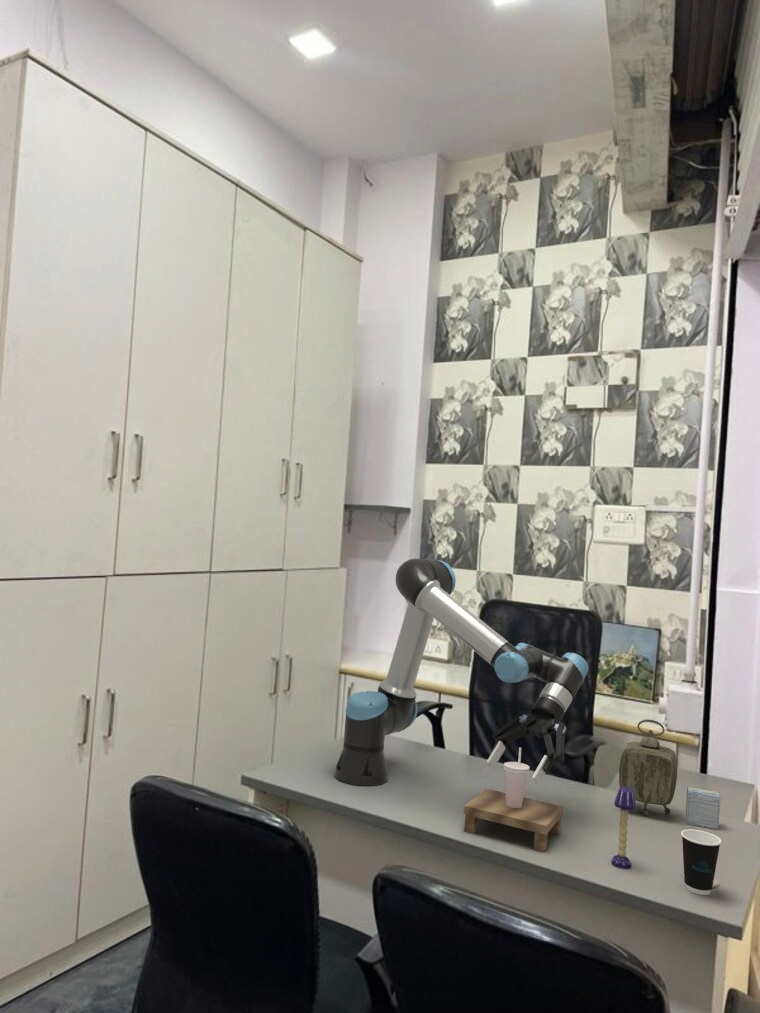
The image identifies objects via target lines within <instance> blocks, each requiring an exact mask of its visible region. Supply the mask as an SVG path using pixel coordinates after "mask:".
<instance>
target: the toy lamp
mask: <svg viewBox="0 0 760 1013" xmlns="http://www.w3.org/2000/svg"><path fill="white" fill-rule="evenodd" d="M636 804H637V803H636V800H635V798H634V793H633V790H632V789H631V788H628V787H620V786H619V788H618V789H617V793H616V797H615V799H614V803H613V805H614V806H615V807H616V808H618V809H620V814H619V824H618V826H619V828H618V833H619V835H618V844H617V846H618V850H617V854H616V855H614V856H613V857H612V858H611V861H610V862H611V865H612V864H613V865H612V866H614V867H616V868H620V869H629V868H632V863H631V860H630V859H629V858H628V857H627V850H626V849H627V841H628V838H627V835H628V829H627V828H628V826H629V824H628V820H629V815H628V814H629V811H633V810H636V809H637V808H636V807H637V805H636Z"/></svg>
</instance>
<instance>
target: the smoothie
mask: <svg viewBox="0 0 760 1013" xmlns="http://www.w3.org/2000/svg"><path fill="white" fill-rule="evenodd" d="M521 758H522V747H518V760H517V761H507V762H504V763H503V769H504V781H505V782H504V784H505V786H504V787H505V793H506V805H507V806H508V807H511V808H521V807H522V802H523V797H524V798H525V790H526V786H527V780H528V775H529V773H530V770H531V769H530V768H531V767H530V766H529V765H528V764H526V763H522V762H521V760H522V759H521Z"/></svg>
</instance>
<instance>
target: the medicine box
mask: <svg viewBox="0 0 760 1013" xmlns="http://www.w3.org/2000/svg"><path fill="white" fill-rule="evenodd" d="M720 810H721V796H720V794H719V792H718V791H714V790H708V789H702V788H695V787H689V786H688V787H687V788H686V804H685V823H686V825H690V826H695V827H700V828H706V829H713V830H720V828H719V827H720Z"/></svg>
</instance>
